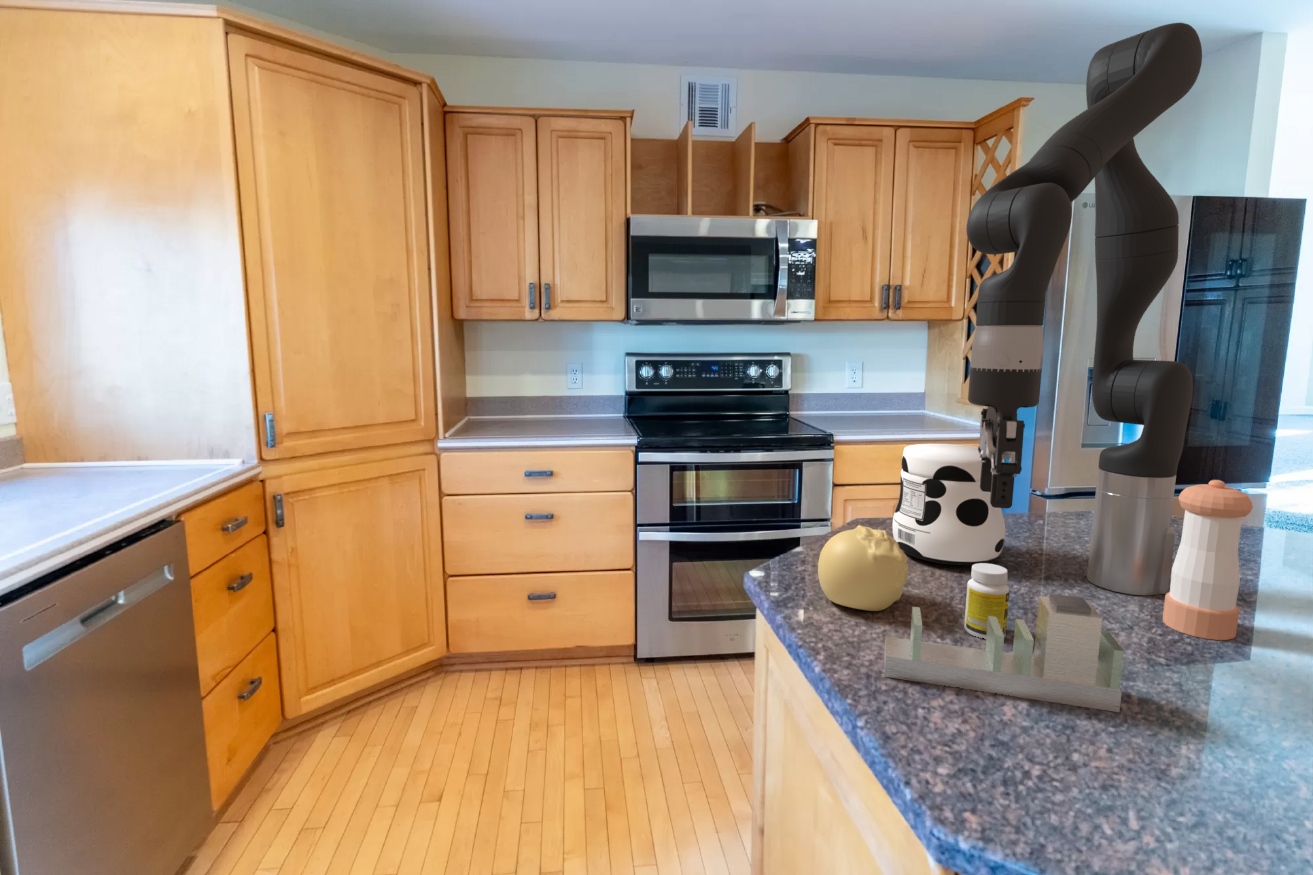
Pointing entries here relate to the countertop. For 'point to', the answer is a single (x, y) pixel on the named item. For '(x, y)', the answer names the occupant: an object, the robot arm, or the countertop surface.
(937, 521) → the milk container
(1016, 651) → the desk organizer
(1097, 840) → the countertop surface
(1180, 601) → the salt shaker
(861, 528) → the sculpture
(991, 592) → the supplement bottle
